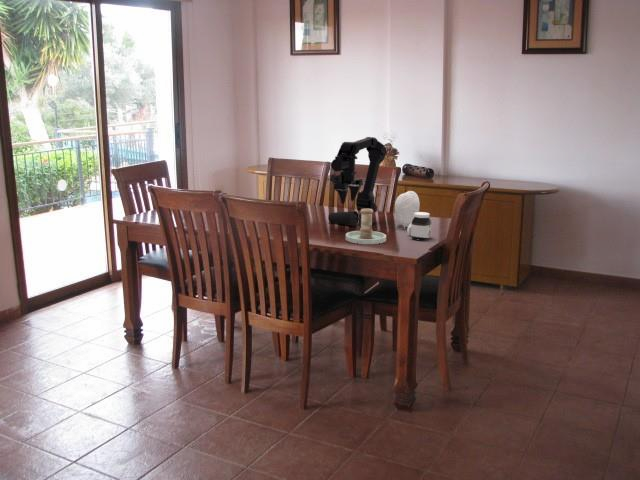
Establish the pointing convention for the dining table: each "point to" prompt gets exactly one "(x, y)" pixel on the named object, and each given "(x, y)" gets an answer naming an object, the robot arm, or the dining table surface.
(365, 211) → the bead tower
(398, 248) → the dining table surface
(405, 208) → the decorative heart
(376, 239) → the round tray
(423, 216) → the spread jar
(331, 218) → the drinking cup
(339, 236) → the dining table surface
